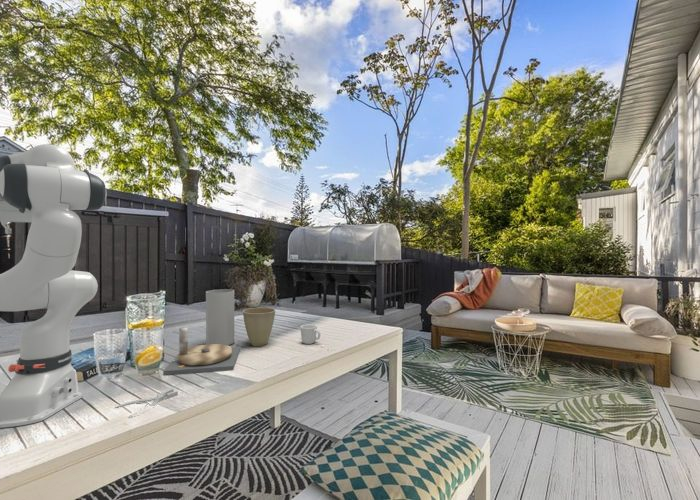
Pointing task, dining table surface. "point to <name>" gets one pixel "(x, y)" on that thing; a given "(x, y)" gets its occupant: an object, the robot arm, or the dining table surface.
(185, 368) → the dial base
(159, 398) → the pliers
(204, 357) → the dial
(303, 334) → the cup
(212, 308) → the cylinder vase
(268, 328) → the plant pot
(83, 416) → the dining table surface
